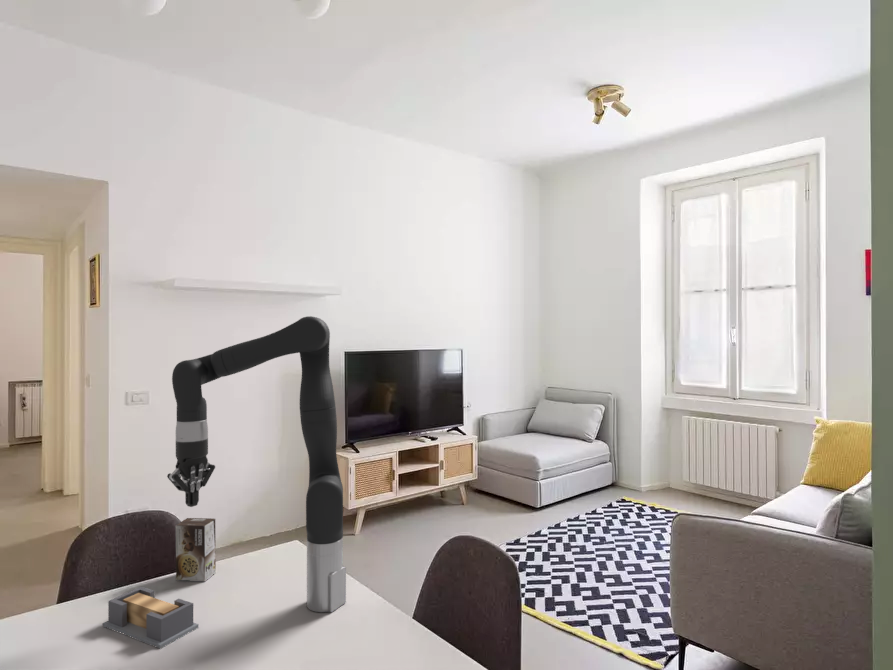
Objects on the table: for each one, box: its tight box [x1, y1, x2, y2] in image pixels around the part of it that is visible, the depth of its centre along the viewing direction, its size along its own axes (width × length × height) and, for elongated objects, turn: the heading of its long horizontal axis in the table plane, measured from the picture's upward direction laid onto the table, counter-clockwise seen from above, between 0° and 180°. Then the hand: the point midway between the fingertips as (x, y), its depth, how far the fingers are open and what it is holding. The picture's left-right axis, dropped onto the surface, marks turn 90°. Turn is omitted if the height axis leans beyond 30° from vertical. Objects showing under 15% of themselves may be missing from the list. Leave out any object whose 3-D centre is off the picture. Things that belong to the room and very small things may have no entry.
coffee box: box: [174, 517, 217, 582], centre depth 160 cm, size 9×6×16 cm
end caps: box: [102, 586, 199, 649], centre depth 132 cm, size 21×10×6 cm, turn 63°
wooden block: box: [123, 593, 179, 629], centre depth 132 cm, size 15×4×5 cm, turn 63°
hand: (192, 505), depth 140 cm, fingers closed
